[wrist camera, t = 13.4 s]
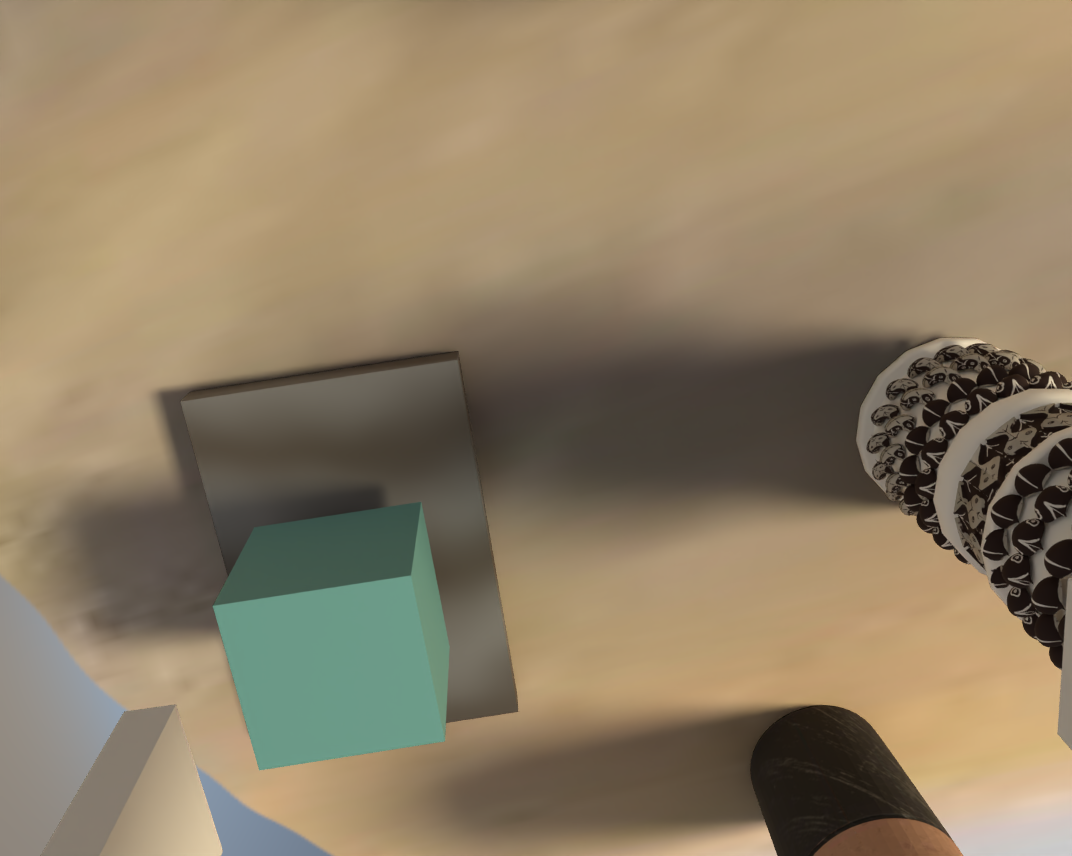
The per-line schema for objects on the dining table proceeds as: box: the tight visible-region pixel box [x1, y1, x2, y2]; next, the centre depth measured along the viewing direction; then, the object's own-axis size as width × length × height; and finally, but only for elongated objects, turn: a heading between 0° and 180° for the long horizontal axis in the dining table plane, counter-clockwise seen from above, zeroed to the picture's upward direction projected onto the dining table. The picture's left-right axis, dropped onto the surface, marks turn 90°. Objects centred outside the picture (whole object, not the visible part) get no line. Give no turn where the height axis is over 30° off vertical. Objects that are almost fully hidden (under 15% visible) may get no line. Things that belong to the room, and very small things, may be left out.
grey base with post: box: [180, 351, 518, 723], centre depth 41 cm, size 18×12×10 cm, turn 8°
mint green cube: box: [213, 502, 450, 770], centre depth 39 cm, size 7×7×7 cm
